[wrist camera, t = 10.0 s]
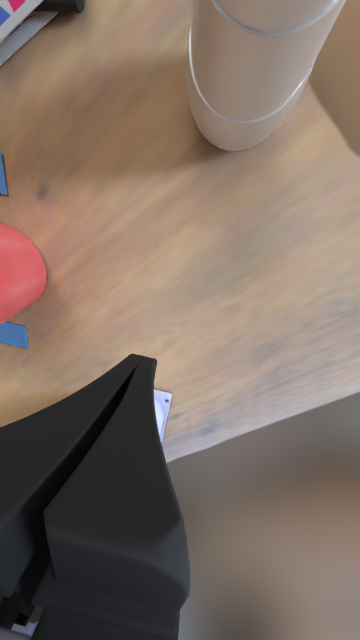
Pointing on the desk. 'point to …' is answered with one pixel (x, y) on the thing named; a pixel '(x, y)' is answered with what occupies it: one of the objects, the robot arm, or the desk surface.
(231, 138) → the plastic bottle
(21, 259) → the flower pot
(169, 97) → the desk surface
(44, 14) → the usb flash drive
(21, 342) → the tape lane
